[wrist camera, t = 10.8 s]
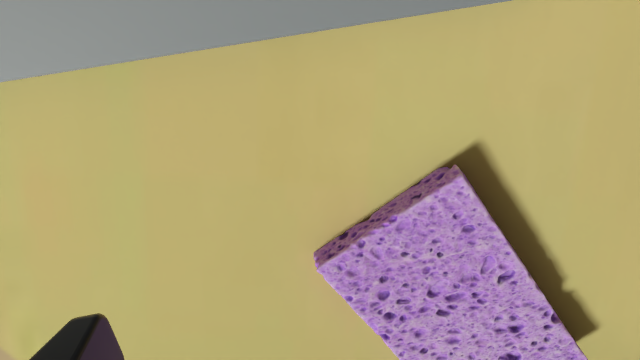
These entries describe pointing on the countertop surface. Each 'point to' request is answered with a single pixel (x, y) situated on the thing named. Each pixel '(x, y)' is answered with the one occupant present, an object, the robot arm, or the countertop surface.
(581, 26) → the countertop surface
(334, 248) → the sponges
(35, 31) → the gear board
